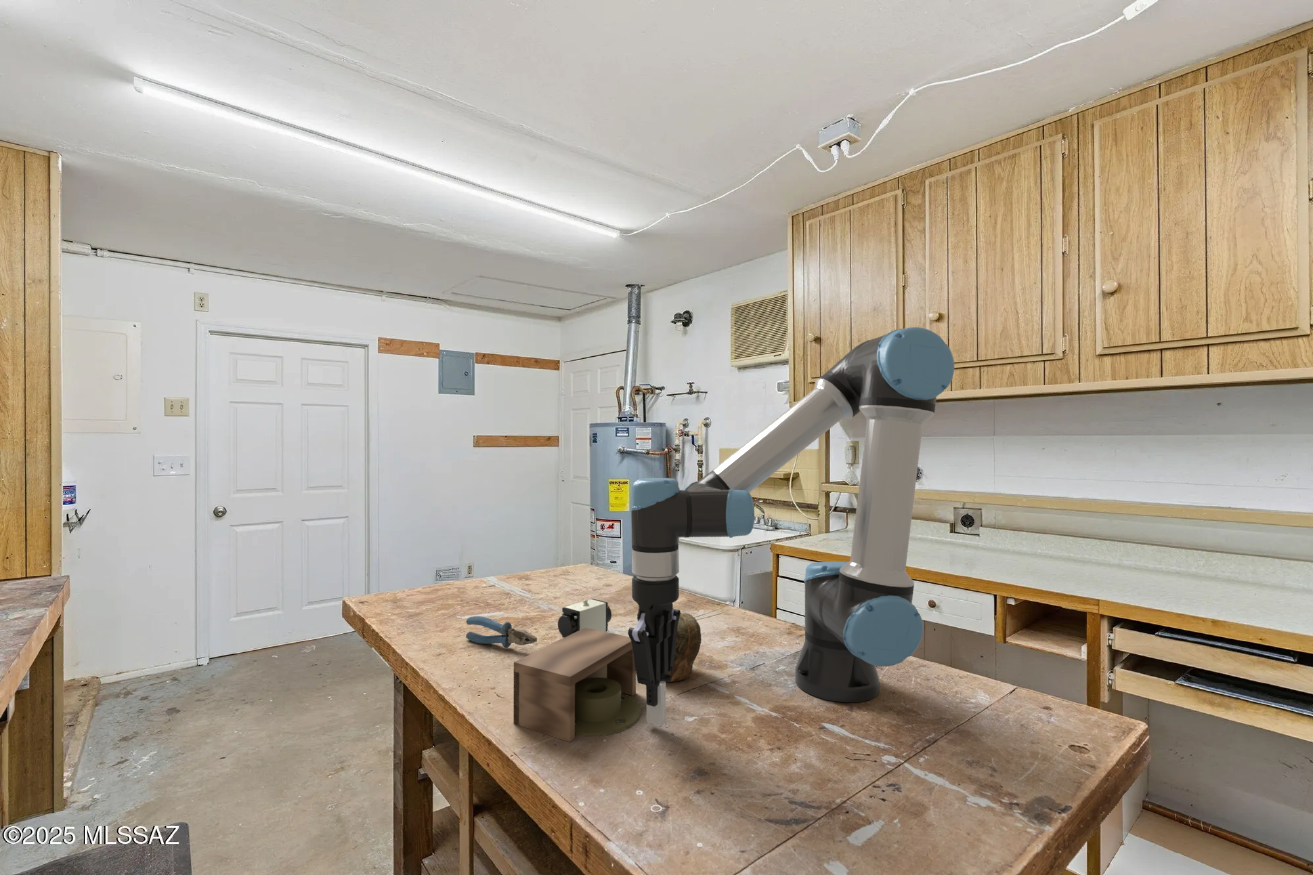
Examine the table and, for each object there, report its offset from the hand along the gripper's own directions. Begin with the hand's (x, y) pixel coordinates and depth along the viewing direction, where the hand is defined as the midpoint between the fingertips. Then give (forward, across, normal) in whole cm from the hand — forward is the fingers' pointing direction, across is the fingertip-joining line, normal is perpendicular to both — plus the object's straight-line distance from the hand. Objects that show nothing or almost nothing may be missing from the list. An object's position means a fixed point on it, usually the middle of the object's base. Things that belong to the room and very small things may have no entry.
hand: (656, 722), depth 93 cm
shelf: (+1, 0, -15) cm, 15 cm away
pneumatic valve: (+1, -19, -29) cm, 34 cm away
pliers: (+1, -13, -48) cm, 50 cm away
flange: (+2, 0, -12) cm, 12 cm away
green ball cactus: (+1, -20, -8) cm, 22 cm away
